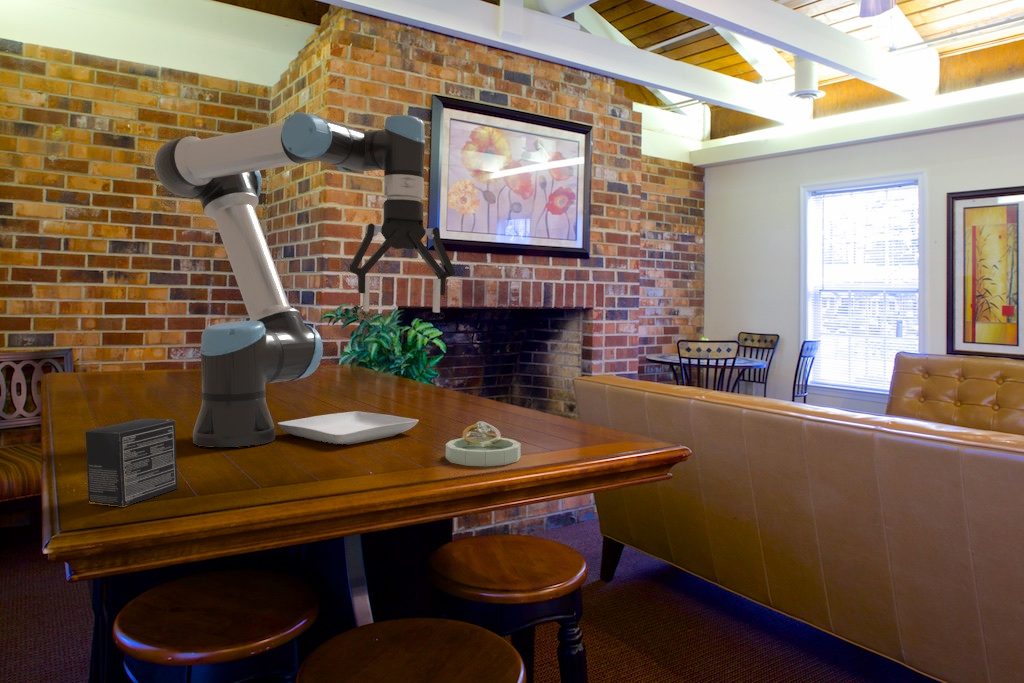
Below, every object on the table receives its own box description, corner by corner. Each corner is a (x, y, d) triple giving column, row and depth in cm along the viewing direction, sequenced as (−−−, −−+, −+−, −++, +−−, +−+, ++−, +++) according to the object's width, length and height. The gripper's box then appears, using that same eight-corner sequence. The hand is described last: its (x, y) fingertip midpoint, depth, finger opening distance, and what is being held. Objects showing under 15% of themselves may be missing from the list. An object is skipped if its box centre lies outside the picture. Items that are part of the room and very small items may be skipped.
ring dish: (458, 468, 122) (458, 453, 122) (438, 452, 134) (438, 439, 134) (530, 463, 126) (530, 448, 126) (505, 448, 139) (505, 435, 138)
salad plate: (274, 437, 149) (273, 420, 149) (356, 424, 165) (356, 409, 165) (338, 451, 136) (338, 433, 135) (421, 435, 152) (421, 419, 152)
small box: (144, 485, 110) (142, 416, 109) (179, 489, 108) (178, 419, 107) (84, 504, 100) (82, 428, 99) (123, 508, 98) (121, 431, 97)
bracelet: (502, 451, 131) (500, 434, 138) (500, 435, 130) (499, 418, 138) (463, 454, 131) (463, 436, 138) (462, 438, 130) (462, 421, 137)
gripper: (339, 193, 130) (337, 311, 132) (472, 202, 139) (469, 313, 140) (334, 197, 137) (333, 309, 139) (461, 206, 146) (458, 312, 147)
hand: (401, 312), depth 140 cm, fingers open, 13 cm apart
